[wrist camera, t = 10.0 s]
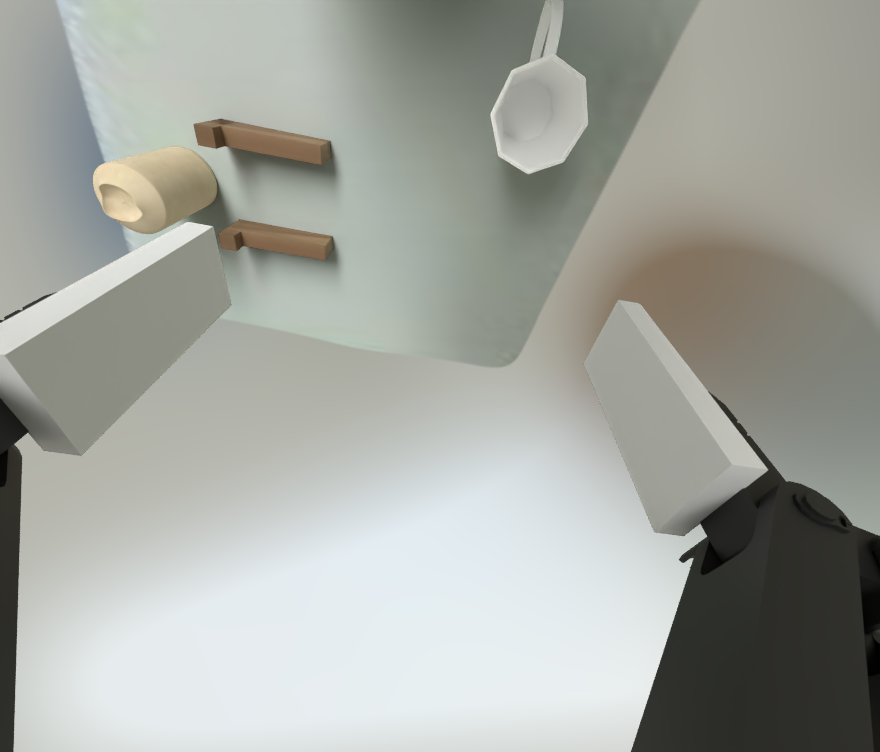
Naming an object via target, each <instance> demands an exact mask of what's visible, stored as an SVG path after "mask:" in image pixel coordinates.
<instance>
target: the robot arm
mask: <svg viewBox="0 0 880 752" xmlns="http://www.w3.org/2000/svg"><path fill="white" fill-rule="evenodd" d="M230 306H231V300H230V296H229V292H228V287H227V283H226V279H225V275H224V270H223V266H222V262H221V257H220V253H219V249H218V244H217V240H216V236H215V231H214V227H213V226H208V225H203V224H197V223H192V222H186V223H184V224H183V225H181V226H179V227H177V228H175V229H173V230H172V231H170V232H168V233H166V234H164V235H162V236H160V237H159V238H157V239H155V240H153V241H151V242H149V243H147V244H146V245H144V246H142V247H140V248H138V249H136V250H135V251H133V252H131V253H129V254H127V255H125V256H124V257H122V258H120V259H118V260H116V261H115V262H112V263H111V264H109V265H107V266H105V267H103V268H101V269H99V270H98V271H96V272H94V273H92V274H90V275H88V276H87V277H85V278H83V279H81V280H79V281H77V282H75V283H74V284H72V285H70V286H68V287H66V288H64V289H63V290H61V291H59V292H56V293H52V294H49V295H46V296H43V297H41V298H40V299H38V300H36V301H34V302H32V303H30V304H28V305H26V306H25V307H23V310H17V311H15V312H13V313H11V314H9V315H8V316H6V317H4V318H5V319H4V320H0V752H13V747H14V746H13V745H14V713H15V679H16V677H15V676H16V644H17V610H18V577H19V543H20V509H21V474H22V456H21V453H20V451H19V449H18V448H17V447H16V446H15V445H14V443H16V442H17V441H18V440H19V439H21V438H22V437H23V436H24V435H25V434H27V433H29V434H30V435H31V437H32V438H33V439H34V440H35V441H36V442H37V444H38V445H39V446H40V447H41V448H42V449H43V450H44V451H49V452H57V453H66V454H72V455H80V456H81V455H83V454H84V453H85V452H86V451H87V450H88V449H89V448H90V447H91V446H92V445H93V444H94V442H96V441H97V440H98V439H99V438H100V437H101V436H102V435H103V434H104V433H105V432H106V431H107V429H108V428H110V427H111V426H112V425H113V424H114V423H115V422H116V421H117V420H118V419H119V417H121V416H122V415H123V414H124V413H125V412H126V410H128V409H129V407H130V406H132V405H133V404H134V402H135V401H136V400H137V399H138V398H139V397H140V396H141V395H142V394H143V393H144V392H145V391H146V390H147V389H148V388H149V387H150V386H151V385H152V384H153V383H154V382H155V381H156V380H157V379H158V378H159V377H160V376H161V375H162V374H163V373H164V372H165V371H166V370H167V369H168V368H169V367H170V366H171V365H172V364H173V363H174V362H175V361H176V360H177V359H178V358H179V357H180V356H181V355H182V354H183V353H184V352H185V351H186V350H187V349H188V348H189V347H190V346H191V345H192V344H193V343H194V342H195V341H196V340H197V339H198V338H199V337H200V336H201V335H202V334H203V333H204V332H205V331H206V330H207V329H208V328H209V327H210V326H211V325H212V324H213V323H214V322H215V321H216V320H217V319H218V318H219V317H220V316H221V315H222V314H223V313H224V312H225V311H226V310H227V309H228V308H229V307H230ZM584 366H585V368H586V371H587V373H588V375H589V378H590V380H591V383H592V385H593V387H594V390H595V392H596V394H597V397H598V399H599V402H600V404H601V406H602V409H603V411H604V414H605V416H606V418H607V420H608V423H609V426H610V428H611V430H612V432H613V435H614V437H615V440H616V442H617V445H618V447H619V449H620V452H621V454H622V457H623V459H624V461H625V464H626V466H627V468H628V471H629V473H630V476H631V478H632V480H633V483H634V485H635V487H636V490H637V492H638V495H639V497H640V499H641V501H642V504H643V506H644V509H645V511H646V514H647V516H648V519H649V521H650V523H651V526H652V528H653V530H654V532H656V533H665V534H672V535H679V536H685V535H686V534H687V533H689V532H690V531H691V530H692V529H694V528H695V527H696V526H698V525H699V524H701V525H702V527H703V529H704V531H705V533H706V535H707V537H706V538H705V539H703V540H702V541H701V542H699V543H698V544H697V545H695V546H694V547H692V548H691V549H690V550H688V551H687V552H686V553H684V554H683V555H682V556H681V557H680V559H679V560H680V561H681V562H682V563H684V562H686V561H687V560H688V559H690V558H694V559H693V562H692V565H691V567H690V571H689V574H688V578H687V581H686V584H685V587H684V590H683V593H682V596H681V599H680V602H679V605H678V608H677V611H676V615H675V618H674V621H673V624H672V627H671V630H670V633H669V636H668V639H667V642H666V645H665V648H664V652H663V655H662V658H661V661H660V664H659V667H658V670H657V673H656V677H655V679H654V682H653V685H652V689H651V692H650V695H649V698H648V701H647V704H646V707H645V710H644V714H643V717H642V719H641V722H640V726H639V729H638V732H637V735H636V738H635V741H634V744H633V747H632V750H631V752H880V536H878V535H875V534H873V533H870V532H868V531H865V530H863V529H860V528H857V527H855V526H853V525H852V523H851V522H850V521H849V519H848V518H847V517H846V516H845V515H844V513H843V512H842V511H841V510H840V509H839V508H838V507H837V506H836V505H835V504H833V503H832V502H831V501H830V500H829V499H827V498H826V497H824V496H823V495H821V494H820V493H818V492H817V491H815V490H813V489H811V488H808V487H806V486H804V485H802V484H799V483H794V482H790V481H789V482H786V481H785V480H784V478H783V477H782V476H781V474H780V473H779V472H778V471H777V469H776V468H775V467H774V466H773V464H772V463H771V462H770V461H769V460H768V458H767V457H766V456H765V454H764V453H763V452H762V451H761V449H760V448H759V447H758V445H757V444H756V443H755V442H754V441H753V439H752V438H751V437H750V436H747V432H746V430H745V429H744V428H743V427H742V425H741V424H740V423H737V419H736V418H735V417H734V415H733V414H732V413H731V412H730V410H729V409H728V408H727V407H726V405H725V404H723V403H722V402H721V401H720V400H718V399H717V398H716V397H715V396H713V395H712V394H711V393H710V392H709V391H707V390H706V389H705V387H704V386H703V385H702V383H701V382H700V381H699V379H698V378H697V377H696V376H695V374H694V373H693V372H692V370H691V369H690V368H689V367H688V365H687V364H686V363H685V361H684V360H683V359H682V358H681V356H680V355H679V354H678V352H677V351H676V350H675V349H674V347H673V346H672V345H671V343H670V342H669V341H668V339H667V338H666V337H665V336H664V334H663V333H662V332H661V330H660V329H659V328H658V327H657V325H656V324H655V323H654V321H653V320H652V319H651V318H650V316H649V315H648V314H647V313H646V311H645V310H644V308H643V307H642V306H641V305H640V304H639V303H633V302H628V301H622V300H618V301H617V303H616V305H615V307H614V308H613V310H612V312H611V314H610V316H609V318H608V320H607V321H606V323H605V325H604V327H603V329H602V331H601V332H600V334H599V336H598V338H597V340H596V341H595V344H594V345H593V347H592V349H591V351H590V353H589V354H588V356H587V358H586V360H585V362H584Z"/></svg>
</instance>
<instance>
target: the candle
mask: <svg viewBox="0 0 880 752" xmlns="http://www.w3.org/2000/svg"><path fill="white" fill-rule="evenodd" d="M93 185H94V190H95V193H96V195H97V198H98V200H99V202H100V203H101V205H102V208H103V211H104V212H105V213H106V214H107V215H108V216H110V217H112V218H113V219H115V220H116V221H118V222H119V223H120V224H122V225H124V226H125V227H127V228H129V229H131V230H133V231H136V232H139V233H143V234H153V233H157V232H159V231H161V230H163V229H165V228H167V227H169V226H171V225H172V224H174V223H176V222H178V221H180V220H182V219H184V218H186V217H188V216H190V215H192V214H194V213H195V212H197V211H199V210H201V209H203V208H205V207H207V206H208V205H210V204H211V203H212V202H213V201H214V200H215V198H216V195H217V182H216V179H215V176H214V174H213V172H212V170H211V169H210V167H209V166H208V164H207V163H206V162H205V161H204V160H203V159H202V158H201V157H200V156H199V155H197V154H196V153H194V152H193V151H191V150H189V149H186V148H183V147H168V148H164V149H160V150H156V151H152V152H148V153H144V154H140V155H136V156H132V157H128V158H124V159H120V160H116V161H112V162H108V163H104V164H102V165H100V166H99V167H98V168H97V169H96V170H95V173H94V176H93Z"/></svg>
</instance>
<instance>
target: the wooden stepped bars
mask: <svg viewBox="0 0 880 752" xmlns="http://www.w3.org/2000/svg"><path fill="white" fill-rule="evenodd" d="M194 129H195V133H196V138H197V142H198V145H200V146H205V147H211V148H216V149H217V148H220V147H223V146H227V147H232V148H237V149H242V150H247V151H252V152H257V153H262V154H267V155H273V156H278V157H283V158H288V159H293V160H298V161H303V162H308V163H314V164H319V165H322V164H324V163H325V162H327V161H328V160H330V159H331V156H330V141H328V140H323V139H318V138H313V137H308V136H303V135H298V134H293V133H288V132H283V131H278V130H273V129H268V128H263V127H259V126H254V125H249V124H244V123H239V122H234V121H229V120H224V119H218V120H212V121H207V122H202V123H196V124H194ZM218 235H219V239H220V243H221V248H223V249H229V250H235V251H237V250H239V249H240V248H241V247H242V246H247V247H252V248H258V249H264V250H269V251H275V252H281V253H286V254H292V255H298V256H303V257H309V258H315V259H320V260H326V259H327V257H328V256H329V254H330V253H331V252H332V250H333V236H327V235H322V234H316V233H311V232H305V231H300V230H294V229H289V228H283V227H278V226H272V225H267V224H261V223H256V222H250V221H245V220H238V221H236V222H235V223H233V224H232V225H230V226H229V227H227V228H226V229H224V230H223V231H221V232H220V233H218Z"/></svg>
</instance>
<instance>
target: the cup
mask: <svg viewBox="0 0 880 752" xmlns="http://www.w3.org/2000/svg"><path fill="white" fill-rule="evenodd" d="M563 7H564V2H563V0H546V2H545V4H544V7H543V10H542V13H541V17H540V20H539V24H538V28H537V32H536V36H535V40H534V43H533V47H532V51H531V56H530V60H529V63H528V64H525V65H523V66H520V67H518V68H515V69H513V70H512V71H511V73H510V75H509V77H508V79H507V81H506V83H505V85H504V87H503V89H502V91H501V93H500V95H499V97H498V99H497V101H496V103H495V105H494V108H493V110H492V112H491V114H490V115H491V121H492V126H493V131H494V136H495V141H496V147H497V152H498V156H499V157H501V158H502V159H504V160H506V161H507V162H509V163H510V164H512V165H514V166H515V167H517V168H518V169H520V170H521V171H523V172H525V173H526V174H531V173H534V172H536V171H539V170H542V169H545V168H548V167H551V166H554V165H557V164H560V163H563V162H564V161H565V159H566V158H567V156H568V155H569V153H570V152H571V150H572V148H573V147H574V145H575V144H576V142H577V141H578V139H579V138H580V136H581V134H582V133H583V131H584V130H585V128H586V127H587V125H588V111H587V93H586V77H584V76H583V75H582V74H580V73H579V72H578V71H576V70H575V69H574V68H572V67H571V66H570V65H568V64H567V63H566V62H564V61H563V60H562V59H560V58H559V57H558V56H556V52H557V48H558V43H559V38H560V33H561V28H562V21H563ZM548 28H549V30H548ZM547 31H548V35H547ZM546 35H547V39H546V44H545V48H544V53H543V57H542V58H540V56H541V53H542V49H543V45H544V42H545V38H546Z"/></svg>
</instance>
